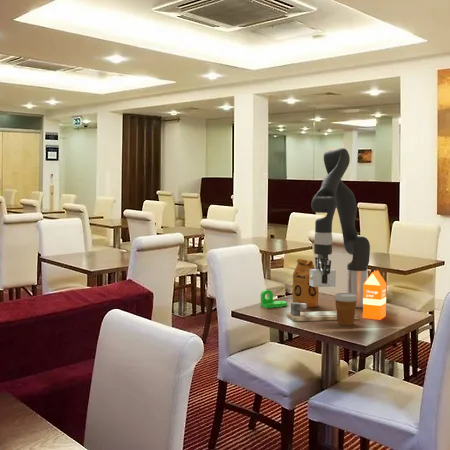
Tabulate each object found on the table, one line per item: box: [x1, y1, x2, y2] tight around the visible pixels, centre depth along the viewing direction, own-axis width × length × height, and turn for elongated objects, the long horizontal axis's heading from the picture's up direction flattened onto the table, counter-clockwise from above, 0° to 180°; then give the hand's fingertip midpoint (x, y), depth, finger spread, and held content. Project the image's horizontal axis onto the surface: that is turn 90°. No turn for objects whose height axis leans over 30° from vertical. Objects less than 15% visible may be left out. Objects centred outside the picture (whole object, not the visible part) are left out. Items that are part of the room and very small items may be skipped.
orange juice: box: [362, 270, 387, 321], centre depth 252 cm, size 8×9×20 cm
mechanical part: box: [260, 289, 288, 309], centre depth 275 cm, size 12×6×8 cm, turn 113°
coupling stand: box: [285, 301, 360, 322], centre depth 251 cm, size 29×11×6 cm, turn 100°
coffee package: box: [292, 258, 320, 308], centre depth 278 cm, size 10×12×22 cm
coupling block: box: [309, 268, 337, 288], centre depth 250 cm, size 5×11×7 cm, turn 100°
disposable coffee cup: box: [334, 292, 358, 326], centre depth 239 cm, size 10×10×12 cm
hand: (322, 282), depth 250 cm, fingers closed on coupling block, 5 cm apart
